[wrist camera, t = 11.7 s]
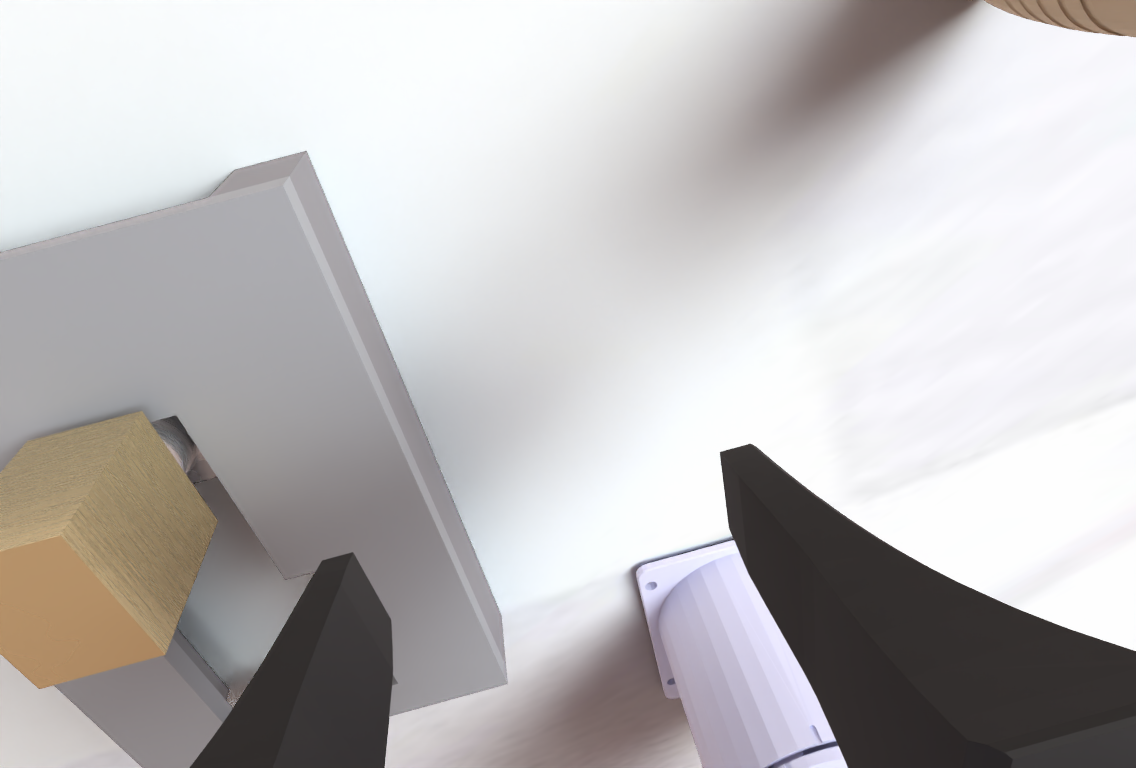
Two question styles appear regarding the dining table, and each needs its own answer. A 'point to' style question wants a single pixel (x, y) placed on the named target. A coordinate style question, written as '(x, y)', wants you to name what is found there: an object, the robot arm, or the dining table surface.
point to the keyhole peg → (99, 545)
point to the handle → (1077, 14)
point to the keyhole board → (250, 426)
